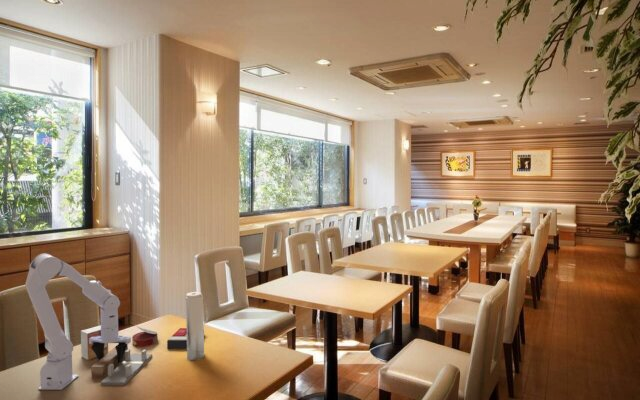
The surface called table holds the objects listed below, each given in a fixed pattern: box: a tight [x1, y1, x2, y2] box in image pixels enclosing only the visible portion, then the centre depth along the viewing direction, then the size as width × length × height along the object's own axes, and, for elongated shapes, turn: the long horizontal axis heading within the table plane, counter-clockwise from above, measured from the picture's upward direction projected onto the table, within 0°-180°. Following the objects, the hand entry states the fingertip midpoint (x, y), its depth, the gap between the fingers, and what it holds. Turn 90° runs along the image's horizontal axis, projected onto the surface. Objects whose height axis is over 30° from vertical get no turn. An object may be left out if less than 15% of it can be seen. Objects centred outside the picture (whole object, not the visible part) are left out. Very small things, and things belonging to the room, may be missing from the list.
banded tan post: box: [90, 344, 129, 379], centre depth 152 cm, size 18×4×4 cm, turn 179°
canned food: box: [131, 323, 158, 348], centre depth 174 cm, size 11×10×10 cm
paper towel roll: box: [185, 291, 205, 361], centre depth 159 cm, size 6×6×25 cm
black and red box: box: [166, 327, 187, 350], centre depth 175 cm, size 11×4×15 cm
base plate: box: [100, 349, 153, 386], centre depth 149 cm, size 22×8×4 cm, turn 179°
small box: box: [80, 324, 109, 361], centre depth 161 cm, size 8×6×10 cm
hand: (110, 362), depth 152 cm, fingers open, 6 cm apart
